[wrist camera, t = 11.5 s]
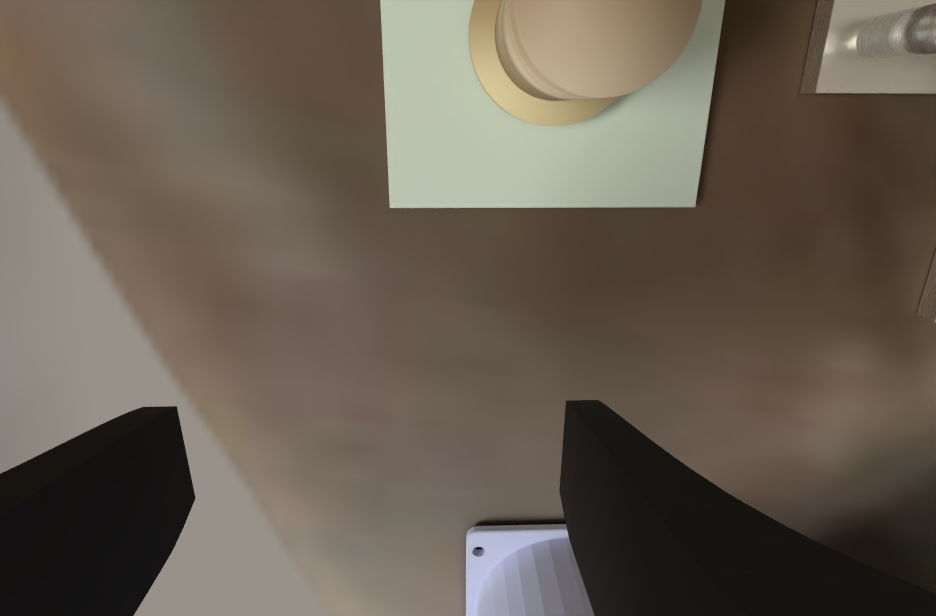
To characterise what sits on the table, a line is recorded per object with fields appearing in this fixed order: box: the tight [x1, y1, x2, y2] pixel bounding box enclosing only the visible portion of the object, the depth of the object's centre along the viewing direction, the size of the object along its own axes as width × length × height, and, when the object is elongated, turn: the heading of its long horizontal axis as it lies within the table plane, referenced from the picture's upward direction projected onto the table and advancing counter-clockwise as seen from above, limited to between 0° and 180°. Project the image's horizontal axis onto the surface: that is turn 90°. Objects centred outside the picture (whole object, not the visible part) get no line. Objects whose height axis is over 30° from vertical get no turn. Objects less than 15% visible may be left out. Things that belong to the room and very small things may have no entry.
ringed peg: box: [469, 0, 702, 126], centre depth 13 cm, size 5×5×6 cm
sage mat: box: [381, 0, 725, 208], centre depth 16 cm, size 10×10×1 cm
